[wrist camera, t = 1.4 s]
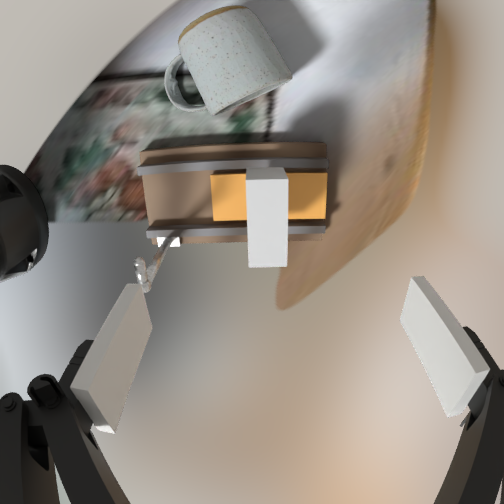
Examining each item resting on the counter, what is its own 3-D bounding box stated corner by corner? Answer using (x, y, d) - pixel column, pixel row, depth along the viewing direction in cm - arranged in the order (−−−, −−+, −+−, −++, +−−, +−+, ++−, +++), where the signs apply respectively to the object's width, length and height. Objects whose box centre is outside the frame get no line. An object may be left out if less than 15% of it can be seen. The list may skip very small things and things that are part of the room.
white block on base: (215, 230, 32) (204, 268, 25) (210, 161, 29) (196, 182, 22) (323, 227, 32) (341, 264, 25) (326, 160, 28) (349, 179, 22)
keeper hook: (159, 245, 33) (130, 296, 24) (155, 216, 31) (121, 261, 23) (180, 244, 33) (157, 296, 24) (177, 215, 31) (150, 260, 23)
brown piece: (156, 238, 34) (149, 249, 32) (144, 149, 30) (135, 154, 27) (319, 234, 34) (324, 245, 32) (323, 142, 29) (329, 146, 27)
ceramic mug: (250, 14, 23) (247, -12, 17) (289, 82, 27) (299, 76, 20) (154, 65, 26) (123, 57, 19) (192, 131, 29) (172, 141, 22)
